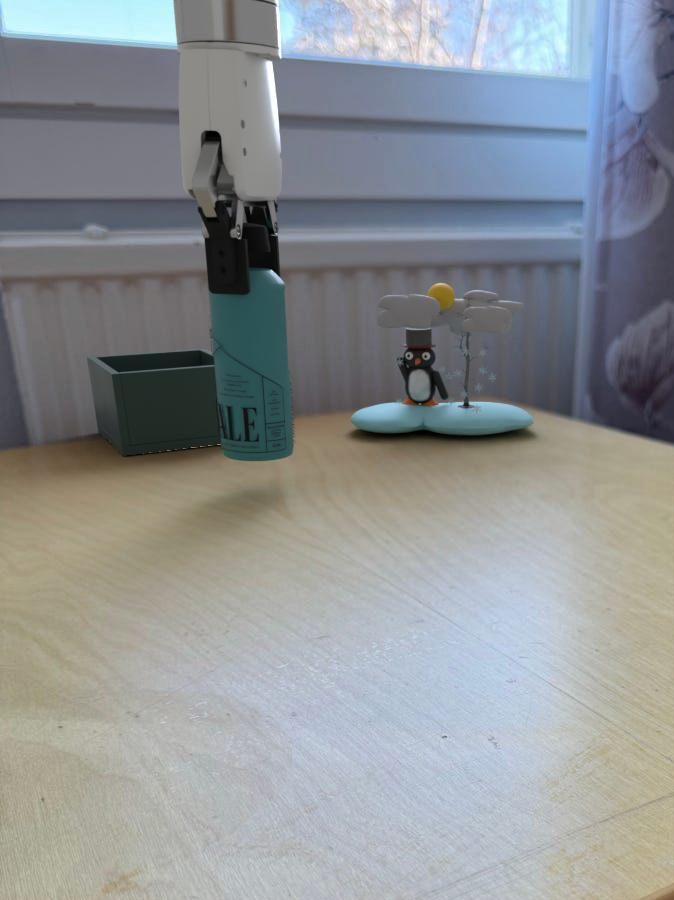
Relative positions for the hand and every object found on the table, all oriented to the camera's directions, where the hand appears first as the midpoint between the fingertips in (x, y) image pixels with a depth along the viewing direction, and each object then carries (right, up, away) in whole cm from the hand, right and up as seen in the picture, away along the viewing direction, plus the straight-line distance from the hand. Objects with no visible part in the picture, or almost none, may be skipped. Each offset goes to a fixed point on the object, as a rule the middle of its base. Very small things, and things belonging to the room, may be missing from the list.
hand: (246, 287), depth 81 cm
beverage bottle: (0, -14, +6) cm, 15 cm away
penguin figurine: (+15, -6, +29) cm, 33 cm away
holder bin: (-14, -7, +25) cm, 30 cm away
